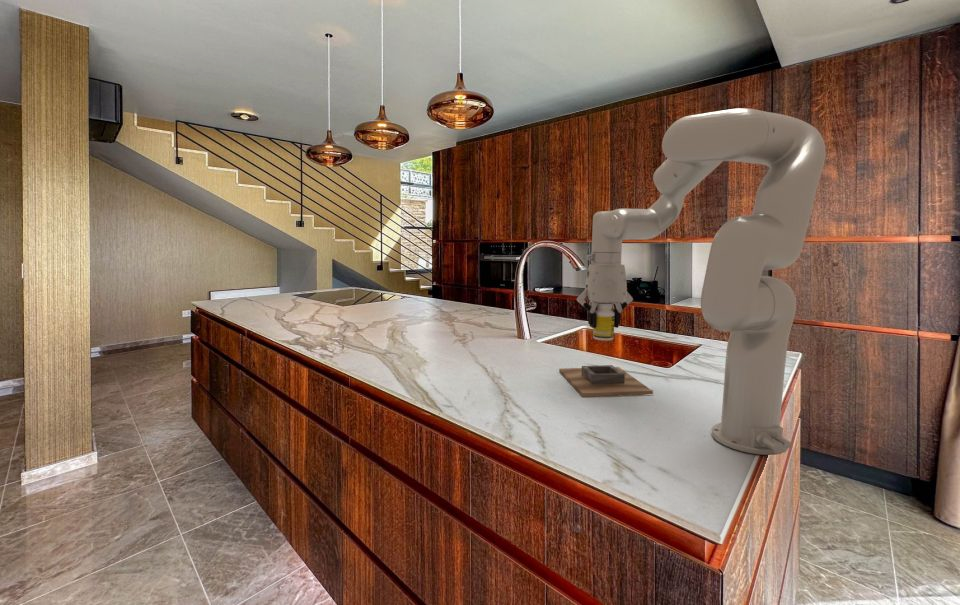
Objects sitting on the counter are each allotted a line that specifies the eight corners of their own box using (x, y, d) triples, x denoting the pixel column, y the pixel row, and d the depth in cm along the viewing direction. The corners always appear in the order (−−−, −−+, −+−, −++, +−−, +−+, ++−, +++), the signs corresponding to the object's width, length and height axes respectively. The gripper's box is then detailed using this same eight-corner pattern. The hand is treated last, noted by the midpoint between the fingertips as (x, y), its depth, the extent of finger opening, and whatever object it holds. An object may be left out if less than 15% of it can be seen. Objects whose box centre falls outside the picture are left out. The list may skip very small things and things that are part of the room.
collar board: (652, 394, 112) (653, 381, 112) (582, 397, 111) (582, 383, 110) (618, 370, 134) (618, 358, 134) (559, 371, 133) (559, 360, 132)
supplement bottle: (614, 341, 118) (616, 304, 117) (593, 340, 119) (594, 304, 118) (612, 337, 123) (614, 301, 122) (592, 336, 124) (593, 301, 123)
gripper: (578, 260, 114) (576, 330, 116) (644, 259, 115) (640, 329, 118) (570, 258, 121) (568, 324, 124) (631, 258, 123) (628, 323, 125)
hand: (603, 326), depth 121 cm, fingers closed on supplement bottle, 5 cm apart
